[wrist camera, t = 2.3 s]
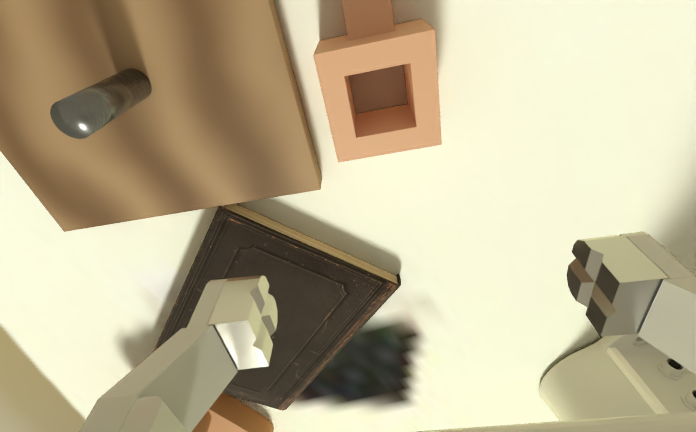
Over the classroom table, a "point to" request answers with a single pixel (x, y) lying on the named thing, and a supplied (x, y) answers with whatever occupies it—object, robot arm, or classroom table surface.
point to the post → (100, 103)
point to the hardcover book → (285, 298)
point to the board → (153, 107)
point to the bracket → (232, 417)
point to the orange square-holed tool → (373, 54)
